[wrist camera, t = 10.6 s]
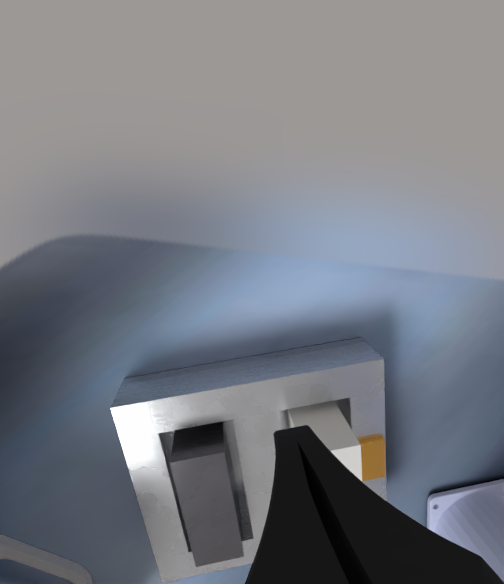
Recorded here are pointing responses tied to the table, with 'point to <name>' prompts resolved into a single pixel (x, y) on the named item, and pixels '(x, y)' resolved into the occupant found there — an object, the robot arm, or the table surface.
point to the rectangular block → (329, 432)
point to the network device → (43, 561)
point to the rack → (235, 444)
